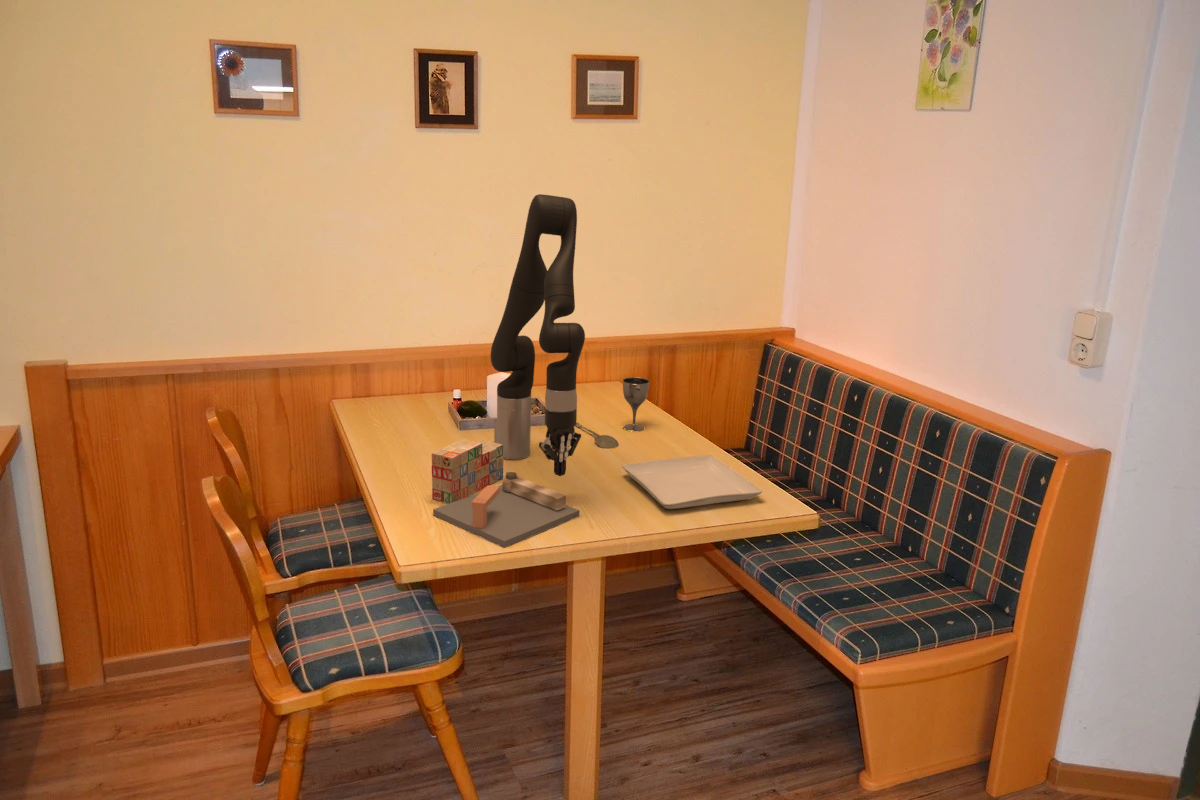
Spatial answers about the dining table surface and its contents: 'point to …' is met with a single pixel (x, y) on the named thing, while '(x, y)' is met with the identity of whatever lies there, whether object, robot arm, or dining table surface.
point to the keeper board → (502, 516)
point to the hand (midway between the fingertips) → (559, 474)
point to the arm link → (533, 491)
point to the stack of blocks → (465, 469)
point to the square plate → (691, 481)
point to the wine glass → (635, 397)
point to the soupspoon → (602, 439)
